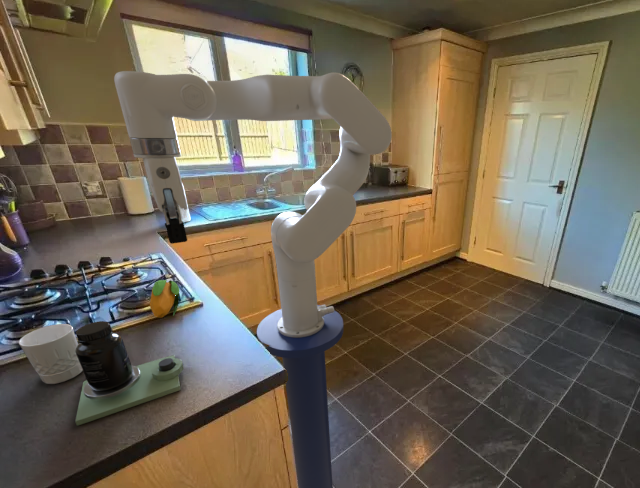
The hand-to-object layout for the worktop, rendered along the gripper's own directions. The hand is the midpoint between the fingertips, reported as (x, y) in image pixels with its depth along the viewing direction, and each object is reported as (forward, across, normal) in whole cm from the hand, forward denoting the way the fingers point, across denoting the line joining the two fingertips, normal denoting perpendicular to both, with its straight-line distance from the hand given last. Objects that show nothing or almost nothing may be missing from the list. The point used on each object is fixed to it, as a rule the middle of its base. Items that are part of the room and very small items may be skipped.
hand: (178, 241), depth 69 cm
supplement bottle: (+24, -7, +16) cm, 30 cm away
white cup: (+27, +6, +26) cm, 38 cm away
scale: (+27, -7, +14) cm, 31 cm away
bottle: (+27, +134, -8) cm, 137 cm away
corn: (+27, +25, +6) cm, 38 cm away
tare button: (+25, -7, +8) cm, 27 cm away
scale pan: (+25, -7, +16) cm, 30 cm away
